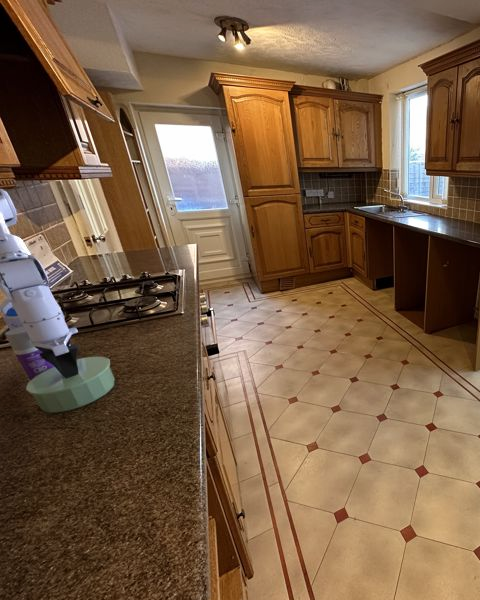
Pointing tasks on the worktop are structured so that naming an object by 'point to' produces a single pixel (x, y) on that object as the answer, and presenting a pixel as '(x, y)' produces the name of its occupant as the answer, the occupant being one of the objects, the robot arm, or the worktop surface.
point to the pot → (77, 394)
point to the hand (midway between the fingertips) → (69, 371)
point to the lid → (56, 382)
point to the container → (27, 353)
